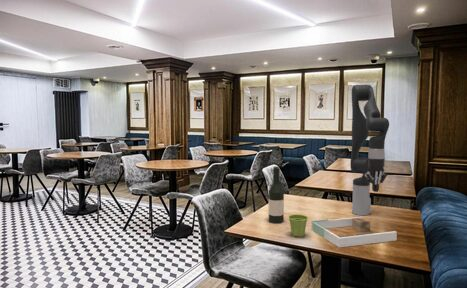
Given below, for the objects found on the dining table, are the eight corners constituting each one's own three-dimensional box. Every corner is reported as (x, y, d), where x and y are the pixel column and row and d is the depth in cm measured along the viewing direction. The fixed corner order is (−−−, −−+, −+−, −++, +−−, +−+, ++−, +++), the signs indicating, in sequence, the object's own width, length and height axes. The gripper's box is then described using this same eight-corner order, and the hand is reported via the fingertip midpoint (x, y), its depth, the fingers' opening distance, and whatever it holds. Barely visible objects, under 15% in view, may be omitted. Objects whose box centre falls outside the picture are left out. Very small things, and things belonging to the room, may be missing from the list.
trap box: (361, 224, 168) (362, 215, 168) (396, 240, 145) (396, 230, 145) (311, 229, 160) (311, 220, 160) (339, 247, 137) (339, 237, 137)
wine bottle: (284, 219, 176) (285, 166, 174) (282, 224, 168) (282, 168, 166) (270, 218, 178) (270, 165, 176) (266, 222, 171) (267, 167, 168)
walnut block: (362, 227, 163) (362, 217, 163) (370, 231, 158) (370, 221, 157) (352, 228, 162) (352, 218, 161) (359, 232, 156) (359, 222, 156)
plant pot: (296, 239, 146) (296, 221, 146) (284, 233, 155) (284, 216, 154) (312, 236, 151) (312, 218, 150) (299, 230, 159) (299, 213, 158)
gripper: (382, 156, 165) (381, 189, 166) (360, 157, 161) (359, 190, 162) (392, 157, 157) (391, 192, 159) (370, 158, 154) (369, 193, 155)
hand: (375, 191), depth 160 cm, fingers closed
